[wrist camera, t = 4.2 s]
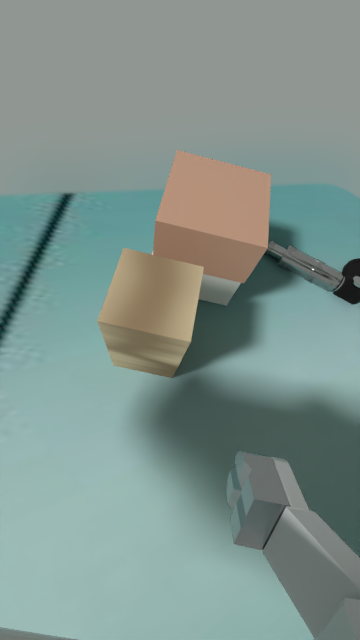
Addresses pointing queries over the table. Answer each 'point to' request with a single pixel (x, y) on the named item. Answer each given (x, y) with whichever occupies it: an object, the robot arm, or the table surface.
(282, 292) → the table surface
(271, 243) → the micrometer
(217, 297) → the off-white tower block
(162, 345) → the oak block
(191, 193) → the terracotta tower block
